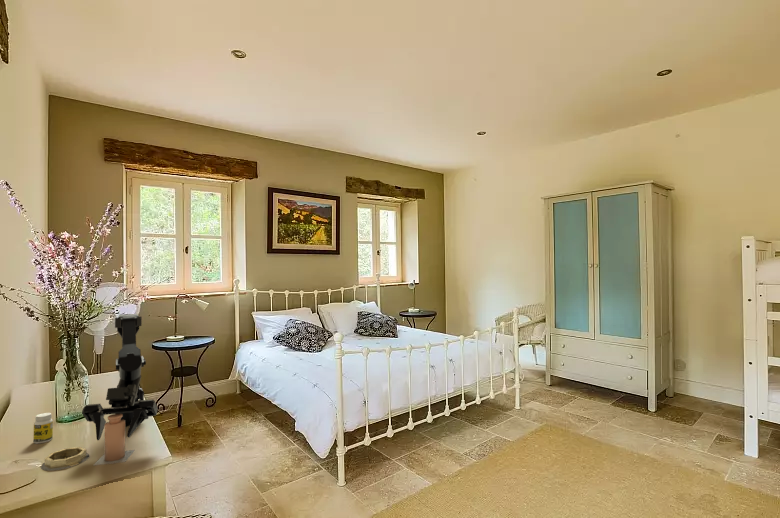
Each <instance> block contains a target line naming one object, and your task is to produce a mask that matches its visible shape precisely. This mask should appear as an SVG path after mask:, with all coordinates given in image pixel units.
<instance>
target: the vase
mask: <svg viewBox="0 0 780 518" xmlns="http://www.w3.org/2000/svg"><path fill="white" fill-rule="evenodd" d="M122 417H123V414H109V415H108V416H107V420H108V421H106V423H105V426H104V453H103V455H104V460H105V461H115V460H119V459H121V458H123V457H124V456H125V451H126V426H125V420H122V419H121V418H122Z"/></svg>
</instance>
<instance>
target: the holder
mask: <svg viewBox="0 0 780 518" xmlns="http://www.w3.org/2000/svg"><path fill="white" fill-rule="evenodd" d="M90 457H91V455H90V453H88V452H87V449H86V448H85V447H84V448H83V447H81V446H78V447H77V446H74V447H67V448H63V449H60V450H57V451H54V452H51V453H49V455H47V456H46V457H45V458H44V462H43V463H42V464H41V465H42V466H41V465H40V470H42V471H48V472H49V471H51V472H52V471H59V470H64V469H65V470H66V469H68V468H72V467H75V466H78V465H80V464H82V463H84V462H86V461H88V459H89V458H90Z"/></svg>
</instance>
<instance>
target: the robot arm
mask: <svg viewBox="0 0 780 518" xmlns="http://www.w3.org/2000/svg"><path fill="white" fill-rule="evenodd" d="M142 320H143V319H142V316H139V315H138V313H132V314H131V313H129V314H127V313H126V314H119V315H118V316H117V317H115V318H114V328H115V329H116V333H117V334H118V336H119V337H120V339H121V349H120V350H119V351H118V357H117V358H115V370H116V371H118V374H119V380H118V383H117V386H116V387H109V388H107V392H106V398H105V400H106V401H108V405H110V407H103V406H102V404H101V403H93V404H92V403H91V404H86V405H85V406H84V407H82V411H81V414H82V416H83V417H84V419H85V420H86V422H93V423H94V424H95V434H96V435H95V436H96V440H97V441H100V440H101V437H102V435H103V432H104V430H105V423H107V421H106V419H105V418H104V417H105V416H106V415H112V414H123V417H122V418H121V419H122V420H125V427H126V426H129V428H128V429H127V434H126V435H127V436H126V437H127V438H131V436H132V435H133V433H134V432H135V431H136V430H137V429H138V428H139V426H140V425H141V424H142V423H143V422H144V421H145V420H148V419H149V417H156V416H157V413H158V411H159V409H158V405H157V403H156V401H155V400H154V399H152V398H151V399H145V391H144V390H143V388H142V387H141V386H140V385H141V380H142V368H144V367H145V366H146V364H147V360H146V358H144V355H142V354H141V352H142V351H141V348H139V346H137V334H138V333H139V331H140V327H142V325H143V324H142V323H143V321H142Z"/></svg>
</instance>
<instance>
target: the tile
mask: <svg viewBox="0 0 780 518" xmlns="http://www.w3.org/2000/svg"><path fill="white" fill-rule="evenodd" d="M135 451H136V450H135V449H132V450H131V449H130V450H125V456H124V457H123V458H121V459H119V460H115V461H105V460H104V454H103V455H101V457H99V459H98V460H97V461H95V463H93V464H92V465H93V466H101V465H110V464H118V463H119V464H120V463H125V462H126V461H128V460H129V458H130V457H131V456H132V454H133V453H135Z"/></svg>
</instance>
